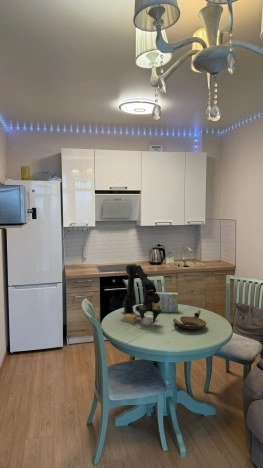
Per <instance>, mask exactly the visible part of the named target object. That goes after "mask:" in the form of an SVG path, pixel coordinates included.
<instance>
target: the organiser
mask: <svg viewBox="0 0 263 468" xmlns="http://www.w3.org/2000/svg"><path fill="white" fill-rule="evenodd" d="M132 315H135V316H137V321H136V322H133V321H129V320H125V319H124V318H121V319H120V322H125V323H128V324H133V325H136V326H141V327H143V328H149V327H150V326H152V325H154V324H155V323H157V322H159V320H157V319H156V320H155V323H153V322H152V323H150V324H149V325H146V324H143V320H142V318H141V315H140V313H139V314H138V313H133V314H132ZM146 316H147V315H144V317H146Z"/></svg>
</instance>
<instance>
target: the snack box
mask: <svg viewBox="0 0 263 468" xmlns="http://www.w3.org/2000/svg"><path fill="white" fill-rule="evenodd" d="M156 293H157V294H158V296H159V297H160V301H159V303H157V304H155V303H152V307H153V309H156V308H158V309H161V310H162V313H179V293H178V292H160V291H159V292H158V291H157V292H156Z"/></svg>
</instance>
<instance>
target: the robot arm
mask: <svg viewBox="0 0 263 468" xmlns="http://www.w3.org/2000/svg"><path fill="white" fill-rule="evenodd" d="M125 270H126V271H125V272H126V275H127V289H126V290H127V291H126V295H125V296H124V300H123V301H122V303H121V305H122V307H123V311H124V313H126V314H132V313H133V314H134V307H135V311H136V312H137V313H139V315H141V318H142V320H143V318H144V316H145V314H146V313H148V312H151V313H152V315H151V316H153V323H154V324H155V320H157V318H158V316H159V315H160V314H163V312H162V310H161V309H158V308H156V309H153V307H152V303H155V304H157V303H159V301H160V297H159V296H158V294H157V293H156V292H158V291H157V288H156V286H155V284H154V282H153V281H152V280H151V279H149V278H148V277H147V275H146V274H145V271H144V270H143V268H142V265H140V264H139V265H137V264H127V265H126V266H125ZM136 275H137V276H138V278H139V280H140V281H141V286H142V289H143V291H142V293H144V296H143V297H144V301H142V304H139V305H136V300H137V297H136V296H135V294H134V293H135V292H134V291H135V289H134V288H135V276H136ZM135 305H136V306H135Z"/></svg>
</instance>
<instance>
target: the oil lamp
mask: <svg viewBox="0 0 263 468" xmlns="http://www.w3.org/2000/svg"><path fill="white" fill-rule="evenodd" d="M201 311H202V310H200V309H199V310H197V312H194V315H193V316H188V315H187V316H181V317H179V319H180V321H179V320H177V318H173V319H172V322H173V323H174V324H175V325H177V326H179V327H181V328H184V329H187V330H197V329H201V328H203V327H206V326H207V322H206V320H203V319H202V318H200V315H201Z"/></svg>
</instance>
